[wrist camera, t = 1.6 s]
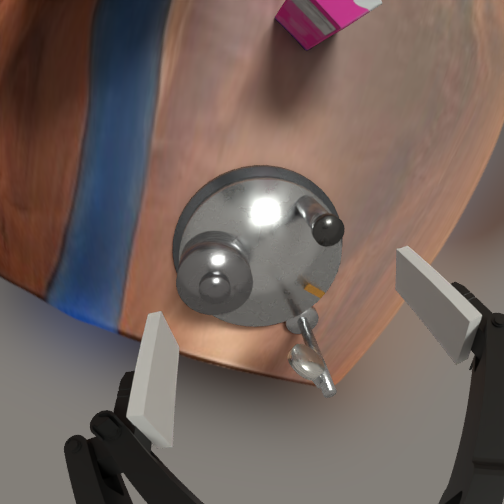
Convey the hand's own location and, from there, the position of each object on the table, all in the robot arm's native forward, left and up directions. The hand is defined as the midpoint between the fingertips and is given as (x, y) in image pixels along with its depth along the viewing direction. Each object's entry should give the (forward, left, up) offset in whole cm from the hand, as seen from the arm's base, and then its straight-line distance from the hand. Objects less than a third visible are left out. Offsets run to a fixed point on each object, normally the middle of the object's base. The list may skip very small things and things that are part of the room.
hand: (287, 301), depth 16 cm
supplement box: (-6, +21, -23) cm, 32 cm away
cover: (+1, -9, -19) cm, 21 cm away
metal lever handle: (+16, -12, -23) cm, 30 cm away
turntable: (+6, -6, -21) cm, 23 cm away
